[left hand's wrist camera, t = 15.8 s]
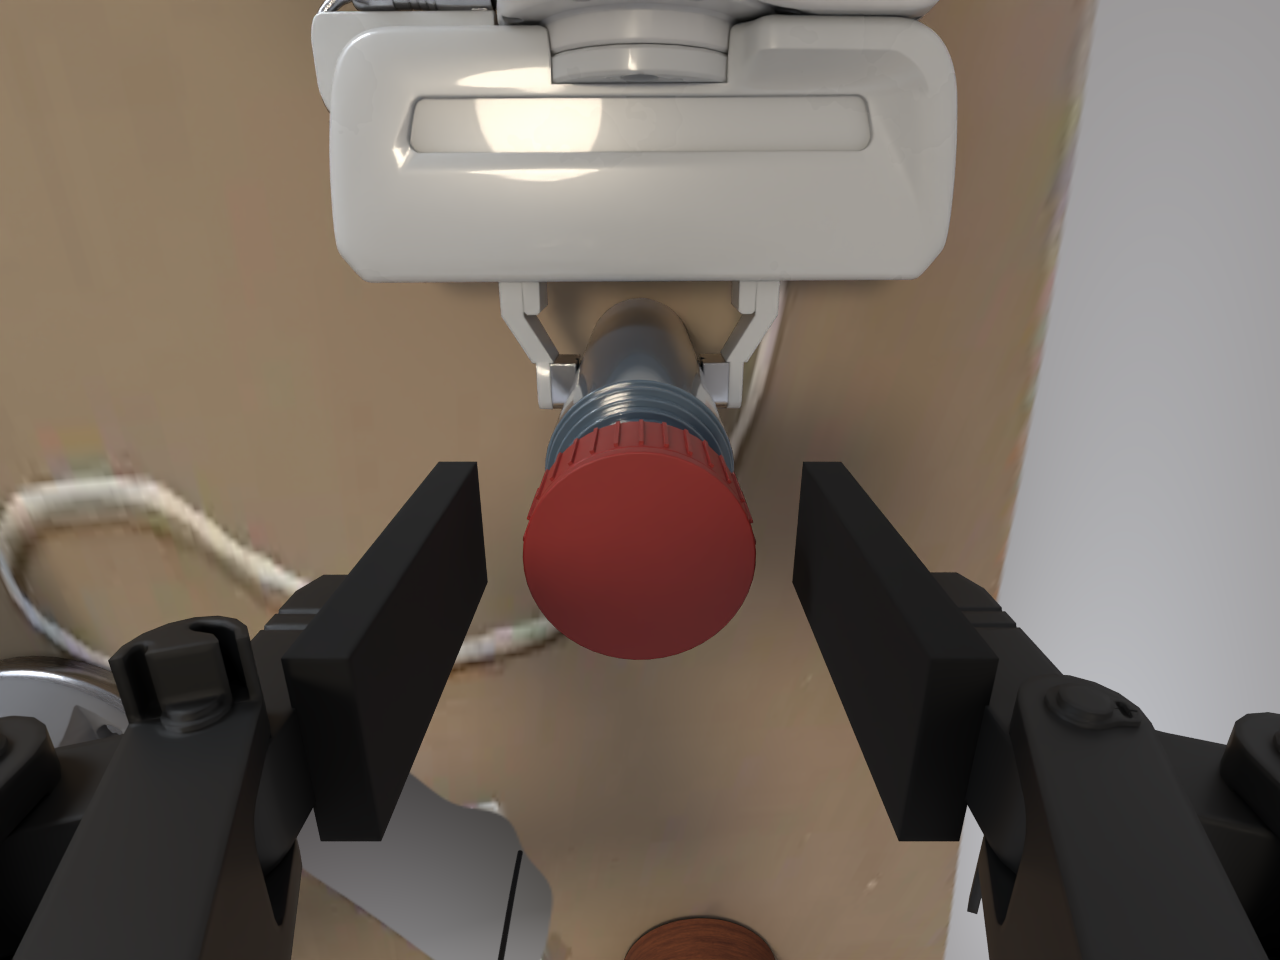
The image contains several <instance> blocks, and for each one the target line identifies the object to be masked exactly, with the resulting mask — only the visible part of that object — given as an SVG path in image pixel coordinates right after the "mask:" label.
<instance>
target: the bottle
mask: <svg viewBox="0 0 1280 960" xmlns="http://www.w3.org/2000/svg"><path fill="white" fill-rule="evenodd" d="M639 419H643V421H645V422H655V423H661V424H662V422H666V423H667V425H670V426H673V427H676V428H678V429H681V430H684V429H687V430H688V432H689V433H690V434H692V435H693V436H695V437H697V438H699V439H700V440H701V441H704V440H706V441H707V442H708V445H709V447H710V448H712V449H713V450H714V451H715V452H716V453H717V454H718V455H719V456H720V455H722V456H723V457H724V460H725V463H726V465H727V467H728V469H729V470H730V472H731V473H732V472H734V459H733V452H732V448H731V444H730V441H729V438H728V435H727V433H726V430H725V428H724V425H723V423H722V420H721V417H720V415H719V412H718V410H717V407H716V405H715V402H714V399H713V397H712V394H711V392H710V389H709V387H708V384H707V381H706V379H705V376H704V374H703V371H702V369H701V366H700V364H699V361H698V358H697V356H696V353H695V351H694V348H693V346H692V343H691V340H690V338H689V335H688V333H687V330H686V328H685V326H684V324H683V322H682V321H681V319H680V318H679V317H678V315H677V314H676V313H675V312H674V311H673V310H672V309H670V308H669V307H668V306H666V305H664V304H662V303H660V302H658V301H655V300H651V299H646V298H634V299H628V300H625V301H622V302H620V303H618V304H616V305H614V306H612V307H611V308H610V309H608V310H607V311H606V312H605V313H604V314H603V315H602V316H601V317H600V319H599V320H598V322H597V324H596V326H595V328H594V330H593V332H592V335H591V337H590V340H589V343H588V345H587V348H586V350H585V353H584V355H583V358H582V360H581V363H580V365H579V368H578V370H577V373H576V375H575V378H574V380H573V383H572V385H571V388H570V391H569V393H568V396H567V398H566V401H565V403H564V406H563V408H562V411H561V413H560V416H559V418H558V421H557V423H556V426H555V428H554V431H553V433H552V436H551V439H550V442H549V445H548V448H547V454H546V460H545V471H546V470H547V469H548V470H550V468H551V467H552V465H553V464H554V463H555V461H556V458H557V455H558V454H559V453H560V452H561V453H563V452H564V451H565V450H566V449H567V448H568V447H570V446H571V445H572V444H573V442H574V440H575V439H576V438H578V439H580V438H582V437H584V436H585V435H587V434H589V433H591V432H593V431H594V428H597V427H598V429H600V428H603V427H606V426H610V425H613V424H616V422H617V421H620V423H624V422H637V421H639Z"/></svg>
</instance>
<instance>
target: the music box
mask: <svg viewBox="0 0 1280 960" xmlns="http://www.w3.org/2000/svg"><path fill="white" fill-rule="evenodd" d="M625 960H775V959H774V956H773V953H772V952H771V950H770V948H769V947H768V945H767V944H766V943H765V942H764V941H763V940H762V939H761V938H760V937H759V936H758V935H756V934H755V933H753V932H752V931H750V930H748V929H746V928H744V927H742V926H740V925H737V924H734V923H731V922H727V921H723V920H717V919H707V918H696V919H686V920H680V921H675V922H671V923H668V924H665V925H663V926H660V927H658V928H656V929H654V930H652V931H650V932H648V933H647V934H645V935H644V936H643V937H641V938H640V939H639V940H638V941H637V942H636V943H635V944H634V945H633V946H632V947H631V949H630V950H629V952H628V953H627V955H626V957H625Z"/></svg>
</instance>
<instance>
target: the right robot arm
mask: <svg viewBox="0 0 1280 960" xmlns="http://www.w3.org/2000/svg"><path fill="white" fill-rule="evenodd" d="M938 1H939V0H325V1H324V2H323V3H322V5H321V6H320V8H319V10H318V12H317V14H316V15H315V17H314V18H313V22H312V28H311V42H312V49H313V55H314V62H315V69H316V76H317V82H318V87H319V91H320V94H321V97H322V100H323V102H324V105H325V107H326V108H327V110H328V112H329V113H330V143H329V150H330V184H331V199H332V212H333V222H334V232H335V240H336V245H337V249H338V251H339V253H340V255H341V256H342V258H343V259H344V260H345V261H346V262H347V263H348V264H349V266H350V267H351V268H352V269H353V270H354V271H355V272H356V273H357V274H358V275H359V276H360V277H361V278H362V279H363V280H364V281H367V282H371V283H407V282H499V294H500V307H501V316H502V318H503V319H504V321H505V322H506V324H507V326H508V327H509V329H510V330H511V332H512V333H513V335H514V336H515V338H516V339H517V341H518V342H519V344H520V345H521V347H522V348H523V350H524V351H525V353H526V354H527V356H528V357H529V359H530V360H531V362H532V363H536V373H537V390H538V403H539V407H540V409H562V408H563V406H564V403H565V401H566V398H567V396H568V393H569V391H570V388H571V385H572V383H573V380H574V378H575V375H576V373H577V370H578V368H579V365H580V355H576V354H559V352H558V351H557V349H556V347H555V346H554V344H553V342H552V341H551V339H550V337H549V336H548V334H547V332H546V331H545V329H544V327H543V326H542V324H541V322H540V321H539V319H538V317H537V316H536V315H538V314H539V313H540V312H541V311H542V310H543V309H544V308H545V307H546V306H547V305H548V298H547V282H595V281H732V300H731V304H732V305H733V306H734V307H735V308H736V309H737V310H738V311H739V312H740V313H741V314H743V315H742V317H741V318H740V320H739V322H738V323H737V325H736V327H735V328H734V330H733V332H732V333H731V335H730V337H729V338H728V340H727V342H726V344H725V345H724V347H723V349H722V350H721V353H717V354H699V364H700V366H701V369H702V371H703V374H704V376H705V379H706V381H707V384H708V387H709V389H710V392H711V394H712V397H713V399H714V402H715V405H716V407H717V408H740V406H741V401H742V385H743V365H744V362H747V361H748V360H749V358H750V357H751V355H752V354H753V352H754V351H755V349H756V348H757V346H758V345H759V343H760V341H761V340H762V338H763V337H764V335H765V334H766V332H767V331H768V329H769V328H770V326H771V325H772V323H773V321H774V320H775V318H776V317H777V315H778V304H779V290H780V281H783V280H912V279H916V278H918V277H919V276H920V275H921V274H922V273H923V272H924V271H925V270H926V269H927V268H928V267H929V266H930V264H931V263H932V262H933V261H934V260H935V259H936V257H937V256H938V255H939V254H940V253H941V251H942V250H943V248H944V246H945V242H946V239H947V234H948V229H949V223H950V216H951V208H952V200H953V190H954V178H955V165H956V146H957V85H956V77H955V71H954V66H953V63H952V59H951V56H950V54H949V52H948V49H947V47H946V45H945V44H944V42H943V41H942V40H941V38H940V37H939V36H938V35H937V34H936V33H935V32H934V31H933V30H932V29H931V28H929V27H928V26H926V25H925V24H923V23H921V22H919V21H918V20H920V19H921V18H922V17H923V16H924V15H925V14H927V13H928V12H929V11H930V10H931V9H932V8H933V6H934V5H935V4H936V3H937V2H938ZM350 2H352V3H353V5H354V6H355V8H356V9H357V10H359V11H337V10H339V9H340V8H341V7H342V6H344V5H345V4H348V3H350ZM496 9H497V14H496ZM412 10H414V11H412Z"/></svg>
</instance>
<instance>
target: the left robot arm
mask: <svg viewBox="0 0 1280 960" xmlns="http://www.w3.org/2000/svg"><path fill="white" fill-rule="evenodd" d="M487 582H488V581H487V570H486V559H485V548H484V536H483V525H482V514H481V503H480V491H479V480H478V469H477V462H438V464H437V465H436V466H435V467H434V468H433V470H432V471H431V472H430V473H429V475H428V476H427V477H426V478H425V480H424V481H423V482H422V483H421V485H420V486H419V487H418V488H417V490H416V491H415V492H414V493H413V495H412V496H411V497H410V498H409V500H408V501H407V502H406V503H405V505H404V506H403V507H402V508H401V510H400V511H399V512H398V513H397V515H396V516H395V517H394V518H393V519H392V521H391V522H390V523H389V524H388V526H387V527H386V528H385V529H384V531H383V532H382V533H381V534H380V536H379V537H378V538H377V539H376V541H375V542H374V543H373V544H372V546H371V547H370V548H369V549H368V551H367V552H366V553H365V554H364V556H363V557H362V558H361V559H360V561H359V562H358V563H357V564H356V566H355V567H354V568H353V569H352V570H351V572H350V573H349V574H348V575H322V576H321V577H319V578H317V579H316V580H314V581H312V582H311V583H309V584H307V585H306V586H304V587H302V588H300V589H299V590H297V591H296V592H295V593H294V594H293V595H292V596H291V597H290V598H289V599H288V601H287V602H286V603H285V604H284V605H283V606H282V607H281V608H280V609H279V614H275V615H274V616H273V617H272V618H271V619H270V620H269V621H268V623H267V624H266V625H265V626H264V630H260V631H259V633H258V634H257V635H256V636H255V637H254V638H253V639H252V640H251V641H250V637H249V633H248V629H247V626H246V625H244V624H243V623H242V622H240V621H239V620H237V619H234V618H228V617H223V616H207V617H194V618H190V619H185V620H181V621H177V622H173V623H168V624H166V625H163V626H161V627H158V628H156V629H153V630H151V631H148V632H146V633H143V634H141V635H140V636H138V637H137V638H135V639H133V640H132V641H130V642H128V643H127V644H125V645H123V646H122V647H121V648H120V649H119V650H118V651H117V652H116V653H115V654H114V655H113V656H112V657H111V658H110V659H109V660H108V661H109V664H110V667H111V670H112V672H110V671H107V670H105V669H102V668H100V667H96V666H93V665H90V664H87V663H83V662H79V661H75V660H70V659H64V658H57V657H45V656H28V657H16V658H11V659H5V660H1V661H0V960H291V954H292V946H293V938H294V929H295V921H296V913H297V905H298V897H299V889H300V880H301V872H302V862H301V855H300V850H299V845H298V841H297V836H298V834H299V832H300V830H301V828H302V827H303V825H304V823H305V821H306V819H307V818H308V816H309V814H310V812H311V810H312V808H314V812H315V817H316V822H317V826H318V831H319V835H320V840H321V841H381V840H382V838H383V835H384V833H385V831H386V828H387V825H388V823H389V821H390V818H391V816H392V813H393V811H394V809H395V806H396V804H397V801H398V799H399V796H400V794H401V792H402V789H403V787H404V784H405V782H406V779H407V777H408V775H409V772H410V770H411V767H412V765H413V762H414V760H415V758H416V755H417V753H418V750H419V748H420V745H421V743H422V741H423V738H424V736H425V733H426V731H427V728H428V726H429V724H430V721H431V719H432V716H433V714H434V711H435V709H436V706H437V704H438V702H439V699H440V697H441V694H442V692H443V689H444V687H445V685H446V682H447V680H448V677H449V675H450V672H451V670H452V668H453V665H454V663H455V660H456V658H457V655H458V653H459V651H460V648H461V646H462V643H463V641H464V638H465V636H466V634H467V631H468V629H469V626H470V624H471V621H472V619H473V617H474V614H475V612H476V609H477V607H478V604H479V602H480V599H481V597H482V595H483V592H484V590H485V587H486V585H487ZM792 582H793V585H794V587H795V590H796V592H797V595H798V597H799V599H800V602H801V604H802V607H803V609H804V612H805V614H806V617H807V619H808V621H809V624H810V626H811V629H812V631H813V634H814V636H815V638H816V641H817V643H818V646H819V648H820V651H821V653H822V655H823V658H824V660H825V663H826V665H827V668H828V670H829V672H830V675H831V677H832V680H833V682H834V685H835V687H836V689H837V692H838V694H839V697H840V699H841V702H842V704H843V706H844V709H845V711H846V714H847V716H848V719H849V721H850V724H851V726H852V728H853V731H854V733H855V736H856V738H857V741H858V743H859V745H860V748H861V750H862V753H863V755H864V758H865V760H866V762H867V765H868V767H869V770H870V772H871V775H872V777H873V779H874V782H875V784H876V787H877V789H878V792H879V794H880V796H881V799H882V801H883V804H884V806H885V809H886V811H887V813H888V816H889V818H890V821H891V823H892V826H893V828H894V831H895V833H896V835H897V838H898V840H899V841H959V840H960V835H961V831H962V826H963V822H964V817H965V813H966V808H967V805H968V807H969V808H970V810H971V812H972V814H973V816H974V817H975V819H976V821H977V823H978V825H979V827H980V828H981V830H982V832H983V834H984V837H983V841H982V845H981V850H980V854H979V858H978V862H977V867H976V871H975V875H974V879H973V884H972V888H971V892H970V896H969V903H968V909H967V911H968V912H971V913H975V914H977V912H978V908H979V904H980V900H981V898H982V903H983V911H984V919H985V927H986V935H987V943H988V952H989V960H1280V714H1276V713H1270V712H1266V713H1252V714H1246V715H1245V716H1243V717H1242V718H1240V719H1239V720H1237V721H1236V722H1235V725H1234V727H1233V730H1232V733H1231V735H1230V738H1229V740H1228V743H1227V745H1224V744H1219V743H1214V742H1209V741H1204V740H1199V739H1194V738H1189V737H1184V736H1180V735H1175V734H1170V733H1165V732H1161V731H1157V730H1155V729H1154V727H1153V725H1152V723H1151V722H1150V721H1149V719H1148V718H1147V717H1146V716H1145V714H1144V713H1143V712H1142V711H1141V709H1140V708H1139V707H1138V706H1136V705H1135V704H1133V703H1132V702H1131V701H1129V700H1128V699H1126V698H1125V697H1124V696H1122V695H1121V694H1119V693H1117V692H1115V691H1113V690H1111V689H1109V688H1106V687H1104V686H1102V685H1100V684H1098V683H1095V682H1092V681H1088V680H1085V679H1081V678H1077V677H1074V676H1070V675H1063V674H1062V673H1061V672H1060V671H1059V670H1058V669H1057V668H1056V667H1055V665H1054V664H1053V663H1052V662H1051V661H1050V660H1049V659H1048V658H1047V657H1046V656H1045V655H1044V653H1043V652H1042V651H1041V650H1040V649H1039V648H1038V647H1037V646H1036V645H1035V644H1034V642H1033V641H1032V640H1031V639H1030V638H1029V637H1028V636H1027V635H1026V634H1025V633H1024V632H1023V630H1022V629H1021V628H1017V627H1016V623H1015V622H1014V621H1013V619H1012V618H1011V617H1010V616H1009V615H1008V614H1007V613H1006V612H1005V611H1002V608H1001V606H1000V605H999V604H998V603H997V602H996V601H995V600H994V599H993V598H992V596H991V595H990V594H989V593H988V592H987V591H986V590H985V589H984V588H982V587H981V586H979V585H977V584H975V583H974V582H972V581H970V580H969V579H967V578H965V577H964V576H962V575H960V574H958V573H930V572H929V570H928V569H927V568H926V567H925V566H924V564H923V563H922V562H921V561H920V559H919V558H918V557H917V556H916V554H915V553H914V552H913V551H912V549H911V548H910V547H909V546H908V544H907V543H906V542H905V541H904V539H903V538H902V537H901V536H900V534H899V533H898V532H897V531H896V529H895V528H894V527H893V526H892V524H891V523H890V522H889V521H888V519H887V518H886V517H885V516H884V515H883V513H882V512H881V511H880V510H879V508H878V507H877V506H876V505H875V503H874V502H873V501H872V500H871V498H870V497H869V496H868V495H867V493H866V492H865V491H864V490H863V488H862V487H861V486H860V485H859V483H858V482H857V481H856V480H855V478H854V477H853V476H852V475H851V473H850V472H849V471H848V470H847V468H846V467H845V466H844V465H843V464H842V462H803V469H802V480H801V491H800V503H799V514H798V525H797V536H796V548H795V559H794V570H793V581H792ZM522 855H523V851H522V850H519V851H518V853H517V858H516V863H515V868H514V873H513V878H512V883H511V888H510V893H509V899H508V904H507V910H506V915H505V921H504V927H503V932H502V938H501V944H500V949H499V955H498V960H504V956H505V951H506V945H507V939H508V933H509V927H510V921H511V915H512V909H513V903H514V898H515V892H516V887H517V881H518V876H519V870H520V865H521V860H522Z"/></svg>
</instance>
